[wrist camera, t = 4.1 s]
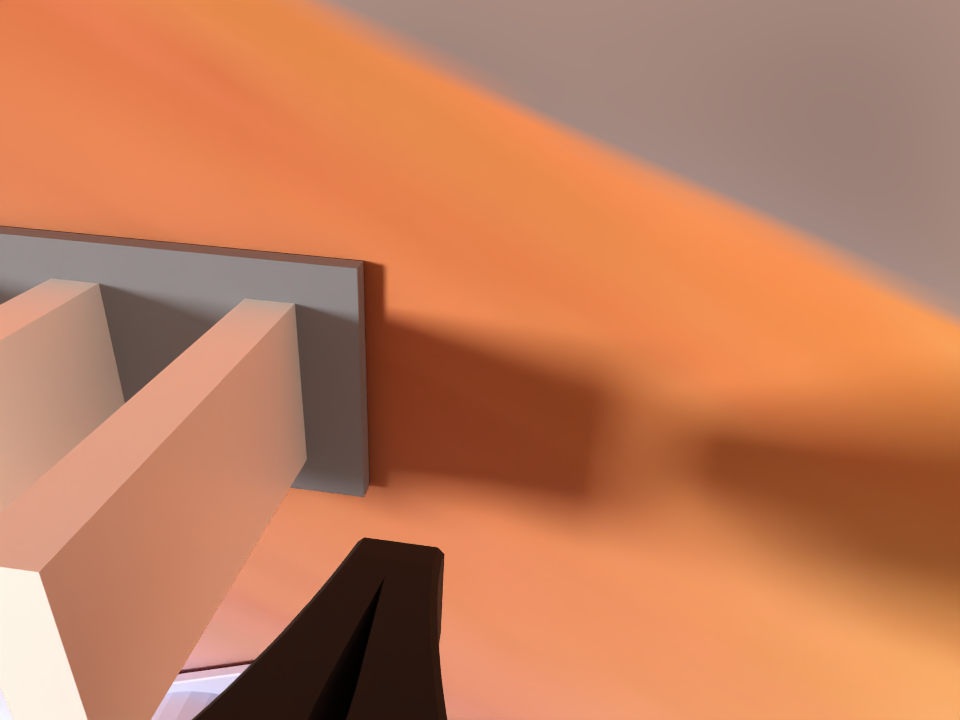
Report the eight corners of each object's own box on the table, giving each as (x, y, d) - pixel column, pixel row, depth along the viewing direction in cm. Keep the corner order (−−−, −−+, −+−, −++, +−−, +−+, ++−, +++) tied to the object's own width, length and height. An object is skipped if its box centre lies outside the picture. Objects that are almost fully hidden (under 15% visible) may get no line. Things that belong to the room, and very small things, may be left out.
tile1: (294, 303, 16) (38, 572, 8) (306, 459, 18) (110, 788, 10) (244, 298, 16) (-53, 558, 8) (262, 454, 18) (36, 775, 10)
